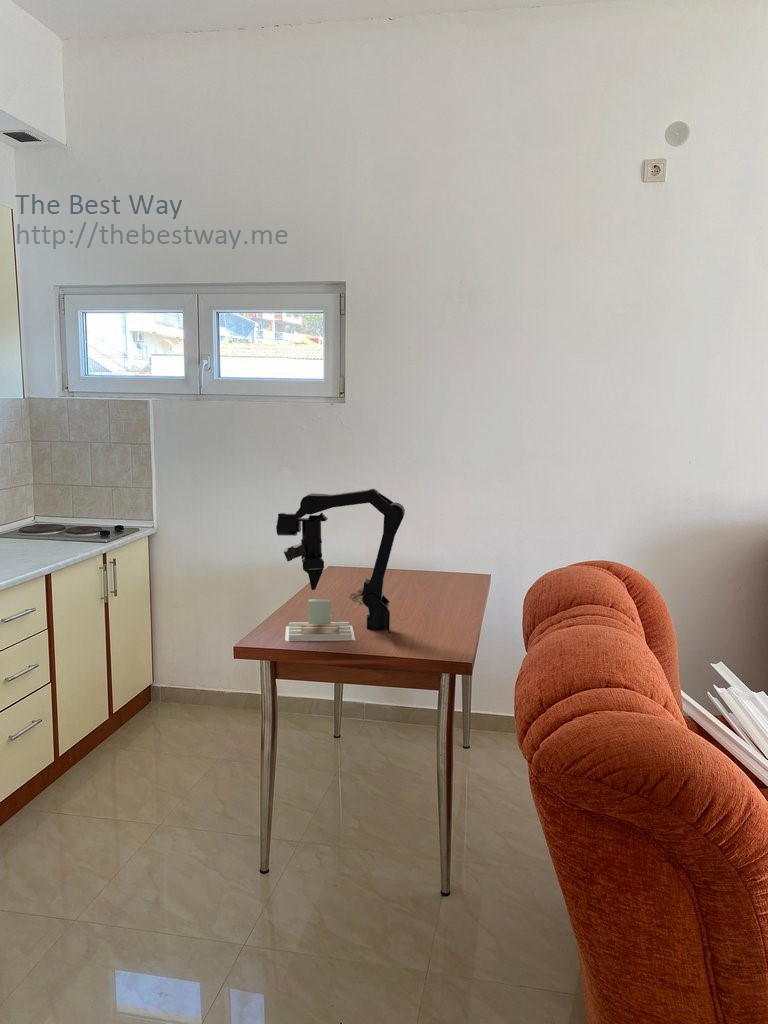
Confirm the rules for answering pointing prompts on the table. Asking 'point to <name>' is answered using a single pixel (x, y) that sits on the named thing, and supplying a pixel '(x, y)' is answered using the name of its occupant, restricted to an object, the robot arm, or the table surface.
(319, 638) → the slot rack
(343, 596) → the table surface
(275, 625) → the table surface
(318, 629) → the offcut bundle
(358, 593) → the wooden fragment
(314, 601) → the sage green block
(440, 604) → the table surface
